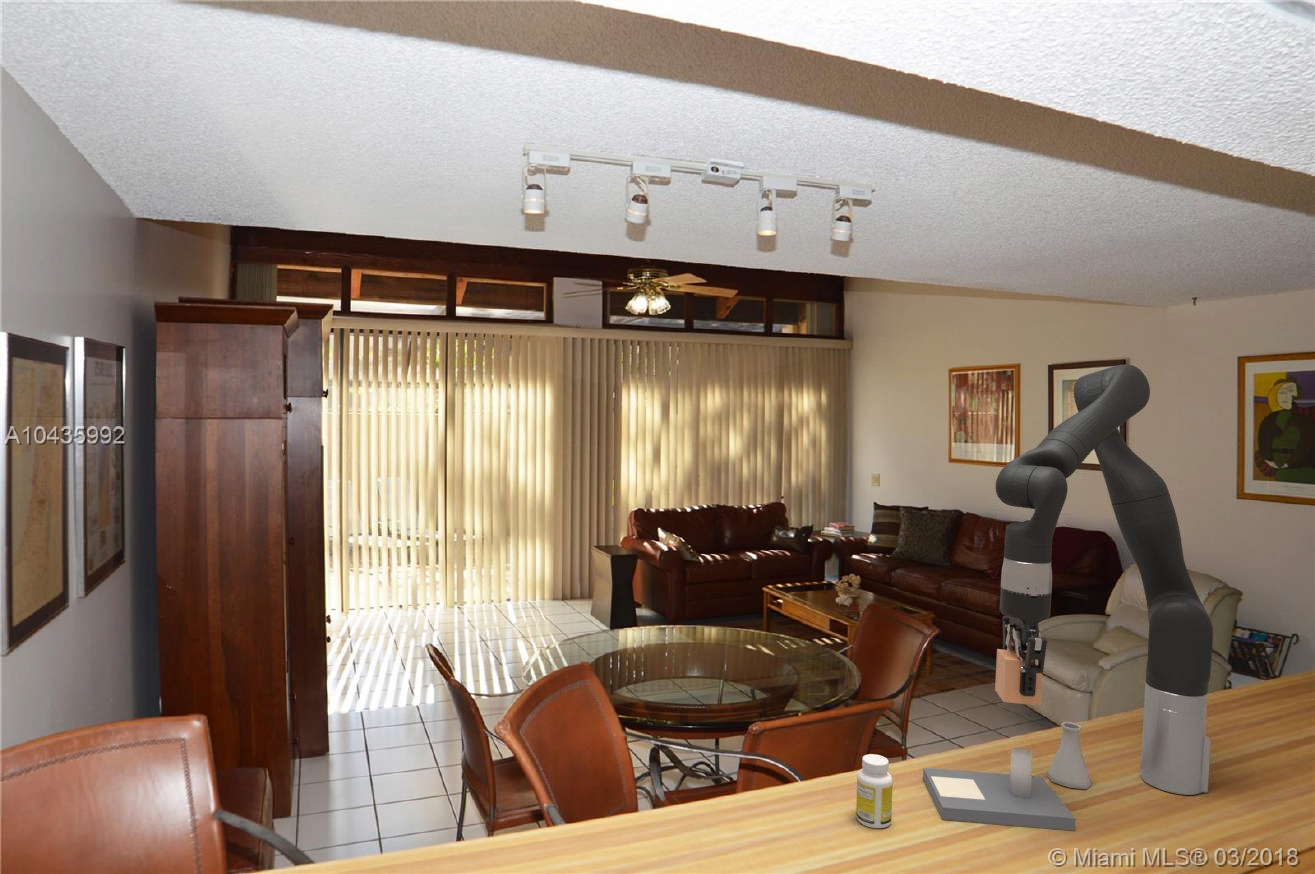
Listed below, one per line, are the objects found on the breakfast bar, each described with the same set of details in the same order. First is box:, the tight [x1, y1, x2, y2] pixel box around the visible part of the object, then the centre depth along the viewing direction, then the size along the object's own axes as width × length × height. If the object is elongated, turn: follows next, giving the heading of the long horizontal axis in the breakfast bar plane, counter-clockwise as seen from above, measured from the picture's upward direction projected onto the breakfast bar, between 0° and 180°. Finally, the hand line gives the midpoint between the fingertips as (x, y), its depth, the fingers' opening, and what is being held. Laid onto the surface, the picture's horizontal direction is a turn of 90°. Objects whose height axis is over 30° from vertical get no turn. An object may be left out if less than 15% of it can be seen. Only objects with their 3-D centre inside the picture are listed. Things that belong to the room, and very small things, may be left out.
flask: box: [1046, 721, 1093, 790], centre depth 141 cm, size 7×7×10 cm
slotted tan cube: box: [994, 648, 1043, 706], centre depth 131 cm, size 6×6×7 cm
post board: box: [922, 747, 1076, 832], centre depth 132 cm, size 20×14×9 cm
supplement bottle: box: [855, 753, 893, 829], centre depth 125 cm, size 5×5×10 cm
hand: (1020, 688), depth 131 cm, fingers closed on slotted tan cube, 5 cm apart
